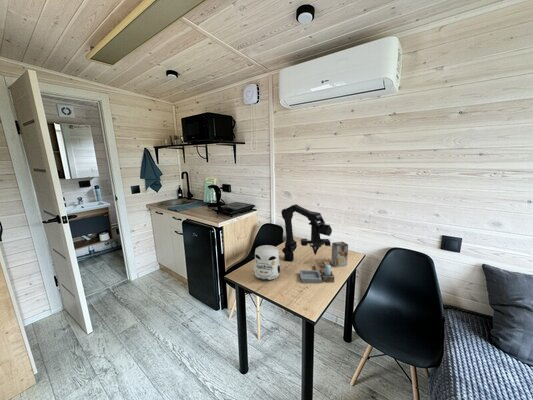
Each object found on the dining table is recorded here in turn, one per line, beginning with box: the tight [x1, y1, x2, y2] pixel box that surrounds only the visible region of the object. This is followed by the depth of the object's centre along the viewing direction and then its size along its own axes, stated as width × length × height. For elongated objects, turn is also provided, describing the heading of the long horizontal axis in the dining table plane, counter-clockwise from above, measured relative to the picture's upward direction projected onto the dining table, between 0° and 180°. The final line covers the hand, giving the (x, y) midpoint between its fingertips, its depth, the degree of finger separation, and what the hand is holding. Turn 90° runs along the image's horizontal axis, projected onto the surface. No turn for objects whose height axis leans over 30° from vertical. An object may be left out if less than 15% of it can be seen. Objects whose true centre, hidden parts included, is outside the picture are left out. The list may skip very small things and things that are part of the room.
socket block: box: [320, 270, 335, 283], centre depth 138 cm, size 7×7×4 cm
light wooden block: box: [323, 261, 331, 268], centre depth 149 cm, size 3×4×5 cm
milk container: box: [253, 244, 281, 281], centre depth 141 cm, size 17×17×18 cm
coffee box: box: [330, 241, 349, 268], centre depth 155 cm, size 9×6×16 cm
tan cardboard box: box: [313, 263, 325, 274], centre depth 149 cm, size 6×9×2 cm, turn 177°
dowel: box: [324, 264, 332, 276], centre depth 137 cm, size 4×4×9 cm
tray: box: [299, 269, 323, 284], centre depth 139 cm, size 12×10×2 cm
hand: (315, 254), depth 144 cm, fingers closed
